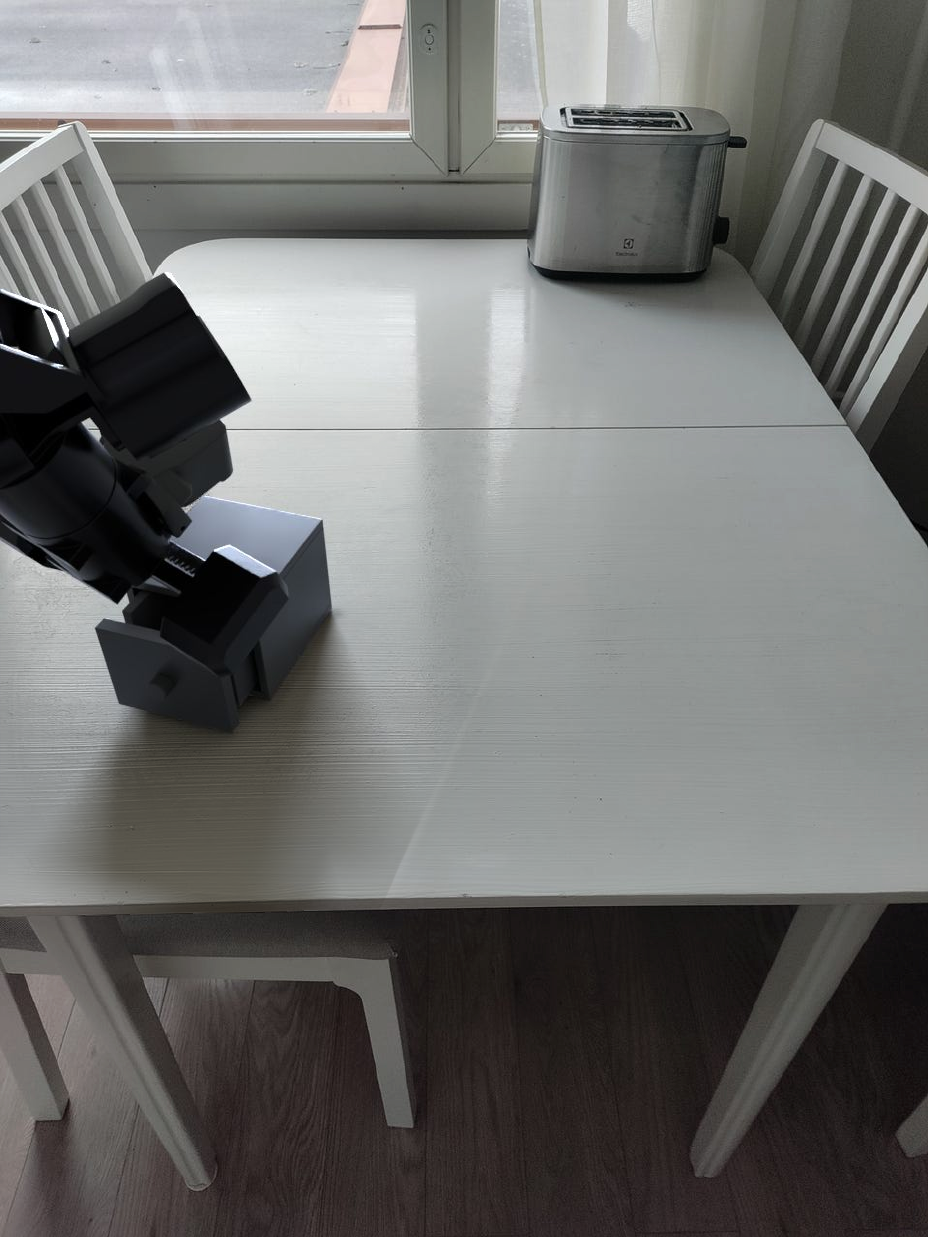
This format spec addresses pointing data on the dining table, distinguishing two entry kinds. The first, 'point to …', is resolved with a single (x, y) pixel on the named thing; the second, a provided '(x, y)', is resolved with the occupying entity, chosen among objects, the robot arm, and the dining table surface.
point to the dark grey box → (281, 547)
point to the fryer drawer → (168, 669)
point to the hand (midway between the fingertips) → (187, 611)
